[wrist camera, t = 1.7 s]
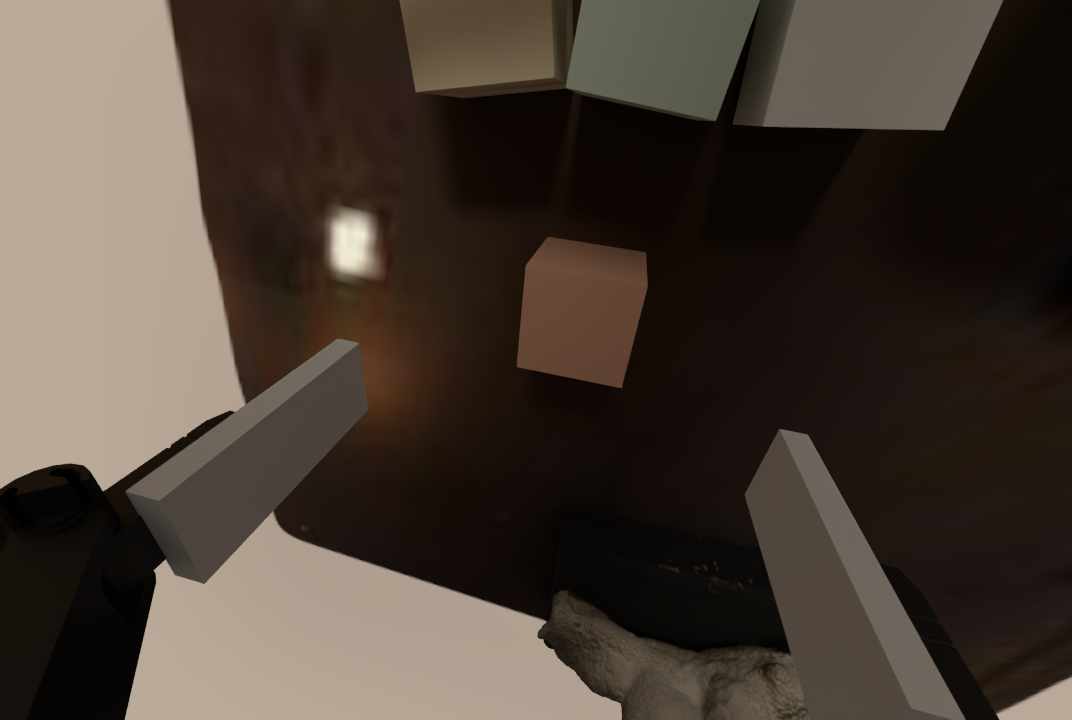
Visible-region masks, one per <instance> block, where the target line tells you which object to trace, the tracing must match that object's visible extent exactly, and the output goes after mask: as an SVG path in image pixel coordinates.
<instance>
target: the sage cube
mask: <svg viewBox="0 0 1072 720" xmlns="http://www.w3.org/2000/svg"><path fill="white" fill-rule="evenodd" d="M759 2H760V0H582V3H581V9H580V14H579V19H578V25H577V30H576V35H575V40H574V46H573V51H572V56H571V62H570V67H569V72H568V77H567V83H566V88H567V89H569V90H572V91H574V92H576V93H579V94H581V95H584V96H589V97H593V98H598V99H602V100H607V101H611V102H616V103H620V104H625V105H629V106H634V107H638V108H643V109H648V110H652V111H657V112H661V113H666V114H670V115H675V116H679V117H684V118H688V119H693V120H700V121H716V119H717V116H718V113H719V111H720V108H721V105H722V103H723V100H724V97H725V94H726V92H727V89H728V86H729V83H730V81H731V78H732V75H733V73H734V70H735V67H736V64H737V62H738V59H739V56H740V53H741V51H742V48H743V45H744V43H745V40H746V37H747V34H748V32H749V29H750V26H751V23H752V21H753V18H754V15H755V13H756V10H757V7H758V4H759Z"/></svg>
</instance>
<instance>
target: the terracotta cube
mask: <svg viewBox="0 0 1072 720" xmlns="http://www.w3.org/2000/svg"><path fill="white" fill-rule="evenodd" d="M647 287H648V282H647V264H646V252H640V251H634V250H628V249H622V248H615V247H609V246H603V245H597V244H590V243H584V242H578V241H571V240H565V239H559V238H553V237H547V239H546V240H545V241H544V243H543V244H542V245H541V246H540V248H539V249H538V250H537V252H536V253H535V254H534V256H533V257H532V258H531V259H530V261H529V262H528V263H527V265H526V269H525V281H524V292H523V303H522V314H521V325H520V336H519V347H518V358H517V367H520V368H524V369H529V370H534V371H539V372H544V373H549V374H554V375H559V376H564V377H569V378H574V379H579V380H584V381H588V382H593V383H598V384H603V385H608V386H613V387H618V388H622V384H623V380H624V377H625V373H626V369H627V365H628V361H629V357H630V353H631V349H632V345H633V342H634V338H635V334H636V330H637V326H638V322H639V318H640V314H641V310H642V307H643V303H644V299H645V295H646V291H647Z"/></svg>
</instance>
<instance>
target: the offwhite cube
mask: <svg viewBox="0 0 1072 720" xmlns="http://www.w3.org/2000/svg"><path fill="white" fill-rule="evenodd" d="M1002 2H1003V0H761V1H760V5H759V10H758V14H757V18H756V23H755V27H754V32H753V36H752V41H751V45H750V49H749V54H748V58H747V63H746V67H745V72H744V76H743V81H742V85H741V89H740V94H739V98H738V103H737V107H736V112H735V116H734V120H733V125H748V126H763V127H810V128H858V129H906V130H944V129H945V127H946V125H947V122H948V120H949V118H950V116H951V114H952V111H953V109H954V107H955V105H956V103H957V101H958V98H959V96H960V94H961V92H962V90H963V87H964V85H965V83H966V81H967V79H968V76H969V74H970V72H971V70H972V68H973V65H974V63H975V61H976V59H977V57H978V55H979V52H980V50H981V48H982V46H983V44H984V41H985V39H986V37H987V35H988V33H989V30H990V28H991V26H992V24H993V22H994V20H995V17H996V15H997V13H998V11H999V9H1000V6H1001V4H1002Z"/></svg>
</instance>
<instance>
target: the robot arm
mask: <svg viewBox="0 0 1072 720" xmlns="http://www.w3.org/2000/svg"><path fill="white" fill-rule="evenodd" d="M367 410H368V404H367V397H366V389H365V382H364V375H363V367H362V360H361V353H360V345H359V343H356V342H351V341H347V340H342V339H337V340H335V341H334V342H333V343H331V344H330V345H328V346H327V347H326V348H324V349H323V350H321V351H320V352H319V353H317V354H316V355H314V356H313V357H312V358H310V359H309V360H307V361H306V362H305V363H303V364H302V365H301V366H299V367H298V368H296V369H295V370H294V371H292V372H291V373H289V374H288V375H287V376H285V377H284V378H282V379H281V380H280V381H278V382H277V383H275V384H274V385H273V386H271V387H270V388H268V389H267V390H266V391H264V392H263V393H261V394H260V395H259V396H257V397H256V398H255V399H253V400H252V401H250V402H249V403H248V404H246V405H245V406H243V407H242V408H241V409H239V410H238V411H236V412H233V411H228V412H226V413H223V414H221V415H219V416H216V417H214V418H212V419H210V420H207V421H205V422H204V423H202V424H201V425H199V426H198V427H197V428H195V429H194V430H192V431H191V432H189V433H188V434H187V436H186V437H182V438H181V439H179V440H178V441H176V442H175V443H173V444H172V445H171V447H170V448H166V449H165V450H163V451H162V452H160V453H159V454H157V455H156V456H154V457H153V458H152V459H150V460H149V461H147V462H146V463H144V464H143V465H141V466H140V467H138V468H137V469H136V470H134V471H133V472H131V473H130V474H128V475H127V476H126V477H124V478H123V479H121V480H120V481H118V482H117V483H115V484H114V485H113V486H111V487H109V488H108V489H107V490H105V491H102V490H101V488H100V486H99V485H98V483H97V481H96V480H95V478H94V477H93V475H92V474H91V472H90V471H89V470H88V469H87V468H86V467H84V466H83V465H77V464H62V465H54V466H51V467H47V468H43V469H40V470H36V471H33V472H31V473H29V474H27V475H24V476H22V477H20V478H18V479H15V480H14V481H12V482H11V483H9V484H7V485H6V486H4V487H3V488H1V489H0V720H125V715H126V711H127V707H128V702H129V698H130V693H131V689H132V685H133V681H134V676H135V672H136V667H137V663H138V659H139V654H140V650H141V646H142V641H143V637H144V632H145V628H146V624H147V620H148V615H149V611H150V606H151V602H152V597H153V593H154V588H155V585H156V574H155V572H154V571H153V570H154V569H156V568H157V567H158V566H159V565H160V564H161V563H162V562H163V561H164V560H165V559H166V560H167V562H168V564H169V565H170V567H171V569H172V571H173V572H174V574H175V575H177V576H180V577H184V578H187V579H190V580H193V581H197V582H200V583H203V584H205V583H206V582H207V581H208V580H209V578H210V577H211V576H212V575H213V574H214V573H215V572H216V571H217V570H218V569H219V568H220V566H222V565H223V563H225V561H226V560H227V559H228V558H229V557H230V556H231V555H232V554H233V553H234V552H235V551H236V550H237V549H238V548H239V547H240V545H241V544H242V543H243V542H244V541H245V540H246V539H247V538H248V537H249V536H250V535H251V534H252V533H253V532H254V531H255V530H256V528H257V527H258V526H259V525H260V524H261V523H262V522H263V521H264V520H265V519H266V518H267V517H268V516H269V514H271V513H272V511H273V510H274V509H275V508H276V507H277V506H278V505H279V504H280V503H281V502H282V501H283V500H284V499H285V498H286V497H287V496H288V494H289V493H290V492H291V491H292V490H293V489H294V488H295V487H296V486H297V485H298V484H299V483H300V482H301V481H302V480H303V478H304V477H305V476H306V475H307V474H308V473H309V472H310V471H311V470H312V469H313V468H314V467H315V466H316V465H317V464H318V463H319V461H320V460H321V459H322V458H323V457H324V456H325V455H326V454H327V453H328V452H329V451H330V450H331V449H332V448H333V447H334V446H335V444H336V443H337V442H338V441H339V440H340V439H341V438H342V437H343V436H344V435H345V434H346V433H347V432H348V431H349V430H350V429H351V427H352V426H353V425H354V424H355V423H356V422H357V421H358V420H359V419H360V418H361V417H362V416H363V415H364V414H365V413H366V411H367ZM745 498H746V501H747V504H748V508H749V511H750V515H751V518H752V521H753V525H754V528H755V532H756V535H757V539H758V542H759V545H760V549H761V552H762V556H763V559H764V562H765V566H766V569H767V573H768V576H769V579H770V583H771V586H772V590H773V593H774V597H775V600H776V603H777V607H778V610H779V614H780V617H781V620H782V624H783V627H784V631H785V634H786V637H787V641H788V644H789V648H790V651H791V654H792V658H793V661H794V665H795V668H796V672H797V675H798V678H799V682H800V685H801V689H802V692H803V695H804V699H805V702H806V706H807V709H808V712H809V716H810V719H811V720H999V718H998V717H997V715H996V713H995V712H994V710H993V708H992V707H991V705H990V703H989V702H988V700H987V699H986V697H985V695H984V694H983V692H982V690H981V689H980V687H979V685H978V684H977V682H976V680H975V679H974V677H973V676H972V674H971V672H970V671H969V669H968V667H967V666H966V664H965V662H964V661H963V659H962V658H961V656H960V654H959V653H958V651H957V649H955V648H953V647H952V641H951V640H950V638H949V636H948V635H947V633H946V631H945V630H944V628H943V626H942V625H939V624H938V618H937V617H936V615H935V613H934V612H933V610H932V608H931V607H930V605H929V604H928V602H927V600H926V599H925V597H924V595H923V594H922V592H921V591H920V590H919V589H918V588H917V587H916V586H915V585H914V584H913V583H912V582H911V581H910V580H909V579H908V578H907V577H906V576H905V575H904V574H903V573H902V572H901V571H900V569H899V568H896V567H892V566H887V565H883V564H879V563H878V561H877V559H876V557H875V555H874V553H873V552H872V550H871V548H870V546H869V544H868V543H867V541H866V539H865V537H864V535H863V534H862V532H861V530H860V528H859V526H858V525H857V523H856V521H855V519H854V517H853V516H852V514H851V512H850V510H849V508H848V507H847V505H846V503H845V501H844V499H843V497H842V496H841V494H840V492H839V490H838V488H837V487H836V485H835V483H834V481H833V479H832V478H831V476H830V474H829V472H828V470H827V469H826V467H825V465H824V463H823V461H822V460H821V458H820V456H819V454H818V452H817V451H816V449H815V447H814V445H813V443H812V441H811V440H810V438H809V436H808V435H806V434H802V433H797V432H792V431H787V430H782V429H779V431H778V433H777V435H776V437H775V439H774V440H773V442H772V444H771V446H770V448H769V450H768V452H767V454H766V455H765V457H764V459H763V461H762V463H761V465H760V467H759V469H758V471H757V472H756V474H755V476H754V478H753V480H752V482H751V484H750V486H749V487H748V489H747V491H746V493H745Z"/></svg>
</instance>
